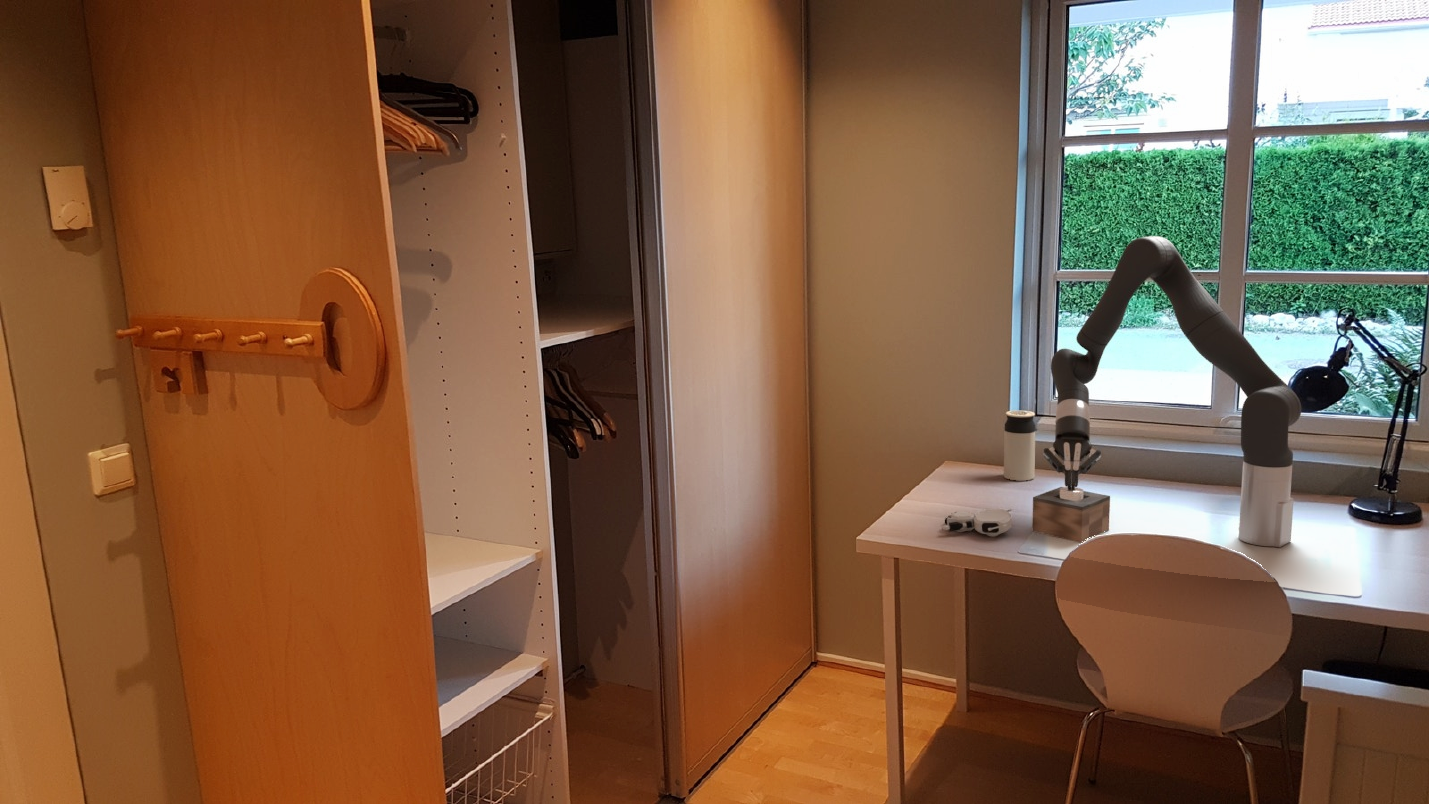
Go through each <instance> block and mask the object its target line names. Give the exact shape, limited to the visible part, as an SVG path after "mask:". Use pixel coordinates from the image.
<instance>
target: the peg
mask: <svg viewBox="0 0 1429 804" xmlns="http://www.w3.org/2000/svg"><path fill="white" fill-rule="evenodd" d="M1063 487H1064V488H1061V489H1060V498H1061V499H1066V500H1071V501H1076V502H1077V501H1079V500H1082V499H1083V492H1084V491H1085V490H1084V489H1082V488H1080V487H1075V489H1068V487H1066V486H1063Z"/></svg>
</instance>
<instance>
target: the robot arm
mask: <svg viewBox="0 0 1429 804" xmlns="http://www.w3.org/2000/svg"><path fill="white" fill-rule="evenodd" d="M1149 278H1150V279H1151V280H1152V281H1153V282H1154V283H1156V284H1157V286H1158V287H1159V288H1160V289H1161V291H1162V292H1163V293H1164V294H1165V295H1166V296H1167V298H1168V300H1169V302H1170V303H1171V306H1172V308H1173V312H1174V315H1175V319H1176V320H1177V323H1178V325H1179V327H1180V328H1179V329H1180V331H1182V333H1183V335H1184V337H1186V338H1187V340H1188V342H1190V343H1191V345H1192V346H1193V347H1194V349H1195V350H1196V351H1197V352H1198V354H1200V356H1202V357H1203V358H1204V359H1205V360H1206V361H1207V362H1209V363H1210V364H1212V365H1213V366H1214V367H1215V368H1217V369H1218V370H1220V371H1222V373H1223V374H1226V375H1227V376H1229V377H1230V378H1231V379H1232V380H1233V381H1234V382H1235V383H1236V384H1237V386H1239V388H1240V389H1241V391H1242V392H1243V393H1244V394H1245V396H1246V398H1245V400H1244V402H1243V404H1242V407H1241V408H1242V409H1241V417H1240V447H1241V451H1242V453H1243V455H1242V457H1243V459H1242V460H1243V462H1242V475H1241V491H1240V492H1241V495H1240V506H1239V507H1240V508H1239V509H1240V510H1239V524H1238V526H1239V527H1238V539H1239V540H1240V541H1242V542H1244V543H1247V544H1250V545H1254V546H1255V545H1256V546H1260V547H1276V548H1282V547H1283V546H1285V545H1286V544H1288V543H1290V542H1291V541H1292V527H1293V526H1292V525H1293V514H1294V498H1293V497H1291V491H1292V488H1291V487H1292V476H1293V474H1292V473H1293V463H1294V462H1293V461H1294V453H1293V450H1291V449H1290V447H1289V427H1291V426H1293V425H1294V424H1295V423H1297V421H1299V419H1300V417H1301V413H1302V404H1301V401H1300V398H1299V397H1298V395H1297V394H1296V392H1295V391H1294V390H1293V389H1292V388H1291V387H1290V386H1288V385H1287V383H1286V382H1284V381H1283V380H1282V379H1281V377H1279V375H1277V374H1276V373H1275V372H1274V371H1273V370H1272V368H1271V367H1270V366H1268V365H1267V363H1266V362H1265V361H1264V360H1263V359H1262V358H1261V356H1260V355H1259V354H1258V352H1257V350H1255V348H1254V347H1253V346H1252V345H1251V343H1250V342H1249V341H1248V339H1247V338H1246V337H1245V335H1243V334H1242V332H1241V330H1240V329H1239V328H1238V327H1237V325H1236V324H1235V322H1234V321H1233V320H1232V319H1231V318H1230V317H1229V315H1228V314H1227V313H1226V312H1225V310H1224V309H1223V308H1222V307H1221V306H1220V305H1219V304H1218V303H1217V301H1215V299H1214V297H1212V295H1210V293H1209V292H1208V290H1206V288H1205V287H1204V286H1203V285H1202V284H1201V283H1200V282H1199V281H1198V279H1197V278H1196V277H1195V276H1194V274H1193V273H1192V271H1191V269H1190V268H1189V267H1188V265H1187V264H1186V262H1185V261H1184V259H1183V257H1182V255H1181V254H1180V253H1179V251H1178V250H1177V248H1176V247H1175V246H1174V244H1173V243H1172V242H1171V241H1170V240H1168V239H1167V238H1164V237H1163V236H1159V235H1155V236H1154V235H1152V236H1141V237H1138V238H1135V239H1133V240H1131V241H1130V242H1129V243H1128V244H1127V245H1126V246H1125V248H1124V250H1123V252H1122V254H1121V257H1120V258H1119V261H1118V263H1117V265H1116V267H1115V270H1114V272H1113V274H1112V276H1111V278H1110V279H1109V282H1108V284H1107V287H1106V288H1105V290H1104V292H1103V294H1102V296H1101V297H1100V299H1099V301H1098V302H1097V304H1096V305H1095V307H1094V309H1093V310H1092V311H1091V313H1090V315H1089V317H1088V318H1087V320H1085V323H1084V324H1083V326H1082V327H1081V329H1080V330H1079V331H1078V333H1077V335H1076V338H1075V339H1076V342H1077V344H1078V345H1079V346H1080V347H1082V348H1083V349H1084V350H1086V351H1087V352H1086V354H1083V353H1081V352H1078V351H1075V350H1073V349H1069V348H1061V349H1059V350H1057V351H1055V353H1054V355H1053V356H1052V358H1051V362H1050V372H1051V375H1052V379H1053V383H1054V386H1055V389H1056V392H1057V405H1056V406H1057V407H1056V412H1055V413H1056V414H1055V432H1054V433H1055V440H1054V441H1053V443H1052V446H1051V447H1049V448H1045V447H1044V449H1043V458H1045V460H1047V462H1048V464H1050V465H1051V467H1052V468H1053V469H1054V470H1055V471H1056V473H1059V474H1060V473H1063V474H1064V487H1068V489H1075V487H1076V488H1078V486H1079V475H1080V474H1082V475H1083V474H1084V475H1085V474H1087V473H1088V472H1089V471H1091V469H1092V468H1093V467H1094V466H1095V465H1096V464H1097V463H1098V462H1099V461H1100V460H1101V458H1102V457H1101V456H1102V451H1100V450H1099V449H1098V450H1096V449H1094V448H1093V446H1092V443H1091V438H1090V436H1091V435H1090V434H1091V433H1090V432H1091V431H1090V429H1091V427H1090V425H1091V416H1090V415H1091V414H1090V408H1089V407H1090V403H1089V402H1090V392H1089V391H1090V390H1089V388H1088V387H1087V385H1086V384H1088V383H1090V382H1091V381H1092V380H1093V379H1094V378H1095V376H1096V374H1097V372H1098V369H1099V365H1100V362H1101V359H1102V356H1103V354H1104V352H1105V349H1106V347H1107V346H1108V345H1109V343H1110V341H1111V340H1112V339H1113V338H1114V335H1115V334H1116V333H1117V331H1118V330H1119V328H1120V326H1121V324H1122V323H1123V320H1124V318H1125V315H1126V311H1127V308H1128V305H1129V303H1130V301H1131V299H1132V297H1133V296H1134V294H1135V293H1136V291H1137V290H1138V289H1139V288H1140V287H1142V285H1143V283H1144V282H1146V280H1148V279H1149ZM1056 455H1057V456H1058V457H1059V459H1061V460H1062V461H1063V463H1062V461H1060V460H1059V459H1058V457H1056ZM1086 457H1088V458H1087V459H1086ZM1084 459H1086V460H1085V461H1084V462H1083V463H1082V464H1081V465H1080V462H1082V461H1083V460H1084ZM1071 462H1072V463H1073V466H1071V465H1072V464H1071Z"/></svg>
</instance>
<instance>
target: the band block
mask: <svg viewBox="0 0 1429 804" xmlns="http://www.w3.org/2000/svg"><path fill="white" fill-rule="evenodd" d="M1064 487H1065V486H1059V487H1057V488H1054V489H1051V490H1048V491H1046V492H1043V493H1040V494H1038V495H1035V496H1033V497H1032V530H1031V531H1032V532H1035V533H1039V534H1043V535H1047V536H1051V537H1056V538H1061V539H1065V540H1069V541H1074V542H1078V543H1081V542H1082V541H1084V540H1085V539H1087V538H1089V537H1092V536H1094V535H1097V536H1099V535H1102V534H1104V533H1105V532H1104V531H1106V532H1109V531H1110V511H1111V509H1110V508H1111V495H1107V494H1101V493H1097V492H1091V491H1086V490H1084V492H1083V499H1082V500H1079V501H1077V502H1076V501H1071V500H1066V499H1061V498H1060V489H1061V488H1064ZM1084 542H1085V541H1084ZM1082 543H1083V542H1082Z"/></svg>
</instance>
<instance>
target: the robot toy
mask: <svg viewBox="0 0 1429 804" xmlns="http://www.w3.org/2000/svg"><path fill="white" fill-rule="evenodd" d="M1012 510H1013V509H1011V508H1010V509H1007V510H1005V509H983V510H980V511H979V512H978V513H976V515H975V514H974V512H973V511H955V512H952V513H949V514H948V515H947V516H946V517H945V518H944V525H943V524H942V526H941V528H942V529H943V530H944V531H948V530H949V531H950V532H955V531H956V533H964V532H970V531H972V530H973V529H974V530H975V531H976V532H978V533H980V534H983V535H986V536H988V537H993V538H994V537H997V536H999V535H1000V534H1004V533H1006V532H1007V531H1008V530H1010V529H1011V528H1012V526H1013V516H1012V514H1011V513H1010V512H1012Z"/></svg>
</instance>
